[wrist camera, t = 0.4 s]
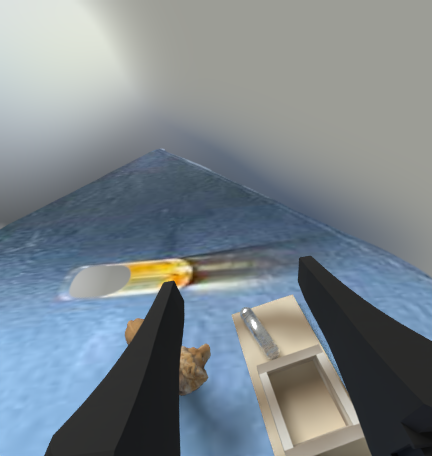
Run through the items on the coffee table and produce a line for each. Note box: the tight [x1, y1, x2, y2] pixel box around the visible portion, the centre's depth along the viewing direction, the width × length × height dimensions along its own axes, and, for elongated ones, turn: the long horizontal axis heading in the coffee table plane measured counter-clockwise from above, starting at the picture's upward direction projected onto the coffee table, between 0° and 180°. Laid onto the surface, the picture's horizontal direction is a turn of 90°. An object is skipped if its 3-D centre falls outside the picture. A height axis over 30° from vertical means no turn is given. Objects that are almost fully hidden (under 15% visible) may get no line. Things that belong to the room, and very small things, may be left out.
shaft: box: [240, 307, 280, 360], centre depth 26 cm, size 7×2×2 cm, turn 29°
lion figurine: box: [125, 318, 211, 396], centre depth 24 cm, size 15×5×9 cm, turn 64°
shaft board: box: [232, 295, 372, 456], centre depth 21 cm, size 21×9×4 cm, turn 14°
